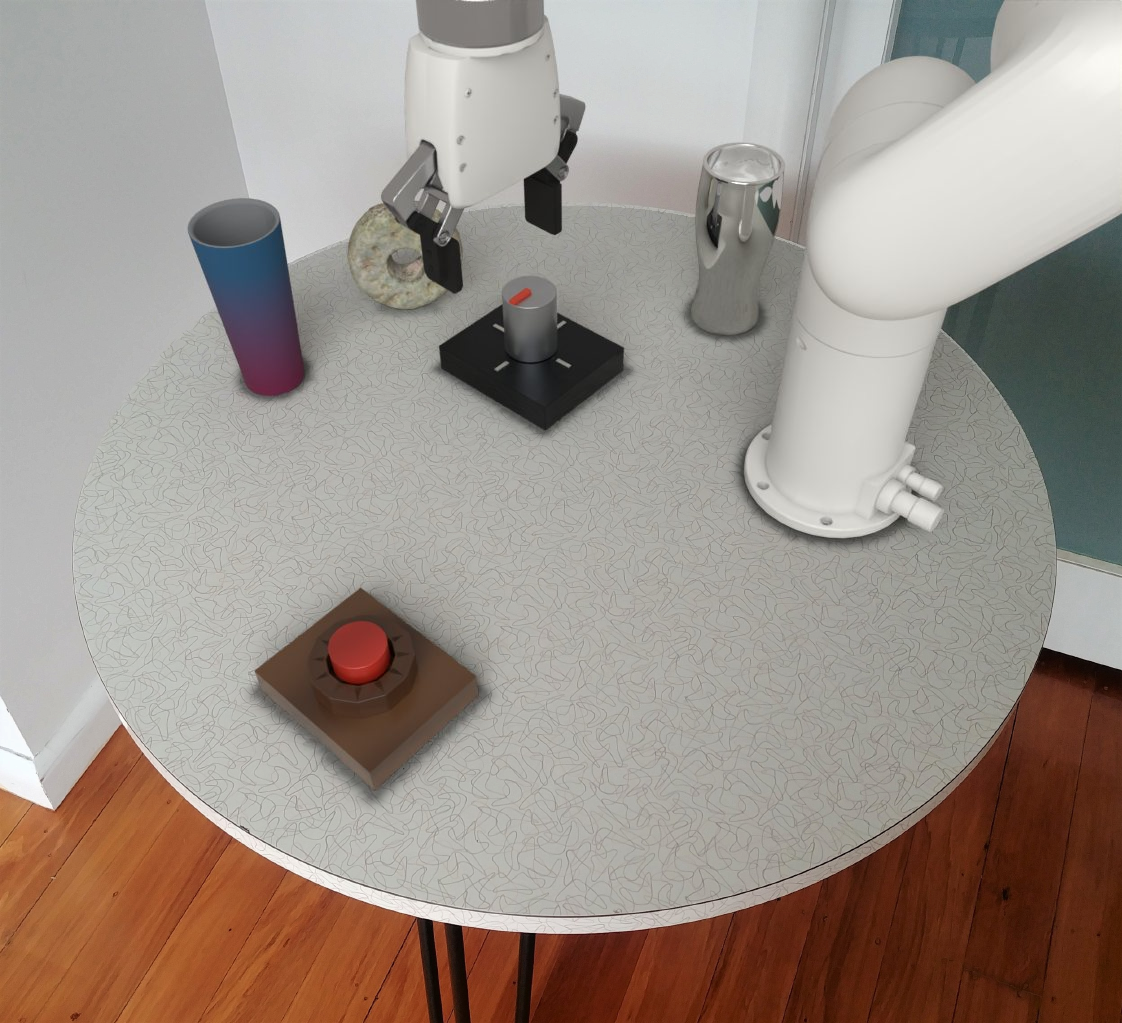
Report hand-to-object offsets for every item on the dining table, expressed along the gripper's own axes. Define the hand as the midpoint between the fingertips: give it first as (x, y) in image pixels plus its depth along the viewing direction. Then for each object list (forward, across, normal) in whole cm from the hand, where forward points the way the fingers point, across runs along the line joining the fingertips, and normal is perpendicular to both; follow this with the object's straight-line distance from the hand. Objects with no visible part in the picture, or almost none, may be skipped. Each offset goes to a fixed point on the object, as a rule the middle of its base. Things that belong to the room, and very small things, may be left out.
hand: (495, 255), depth 75 cm
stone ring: (+16, -5, -18) cm, 25 cm away
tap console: (+16, -6, -3) cm, 17 cm away
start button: (+12, +24, +12) cm, 30 cm away
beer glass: (+16, -23, +4) cm, 28 cm away
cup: (+16, +10, -18) cm, 26 cm away
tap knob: (+13, -6, -3) cm, 15 cm away
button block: (+16, +24, +12) cm, 32 cm away
